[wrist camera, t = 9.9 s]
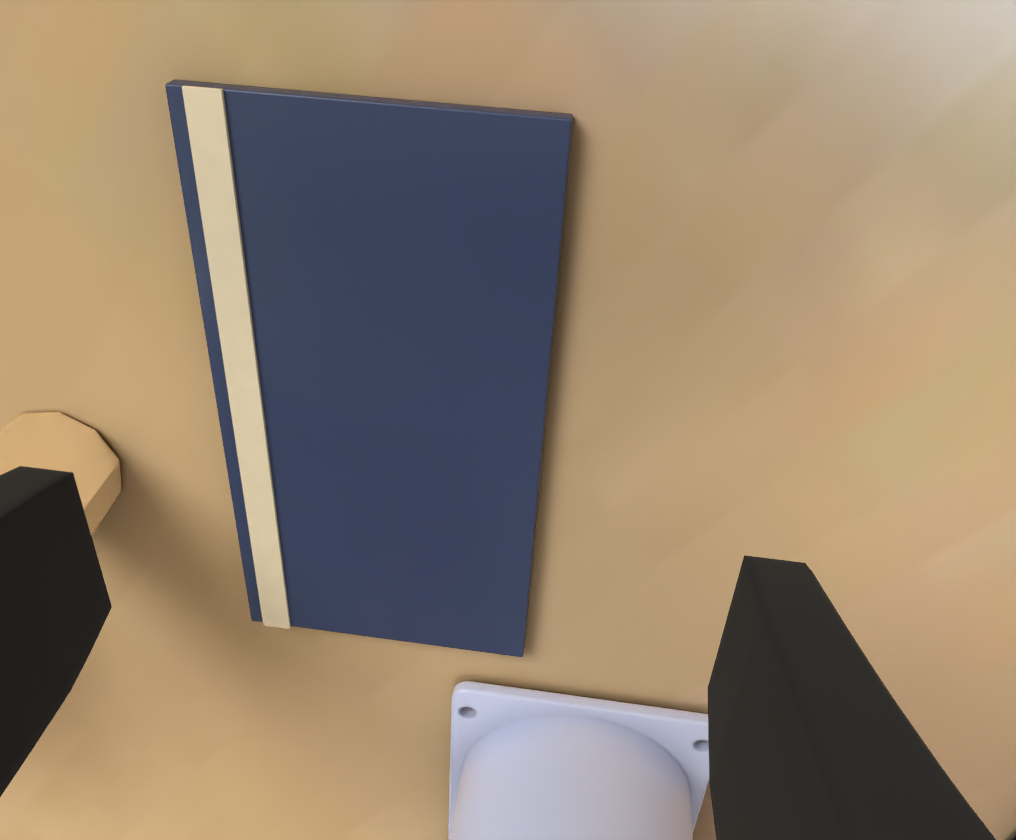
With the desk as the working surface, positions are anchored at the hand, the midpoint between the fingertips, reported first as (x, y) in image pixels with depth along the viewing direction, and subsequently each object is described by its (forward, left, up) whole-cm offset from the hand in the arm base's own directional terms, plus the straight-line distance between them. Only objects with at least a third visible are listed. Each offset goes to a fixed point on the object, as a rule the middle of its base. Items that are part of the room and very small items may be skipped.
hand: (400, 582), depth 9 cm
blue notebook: (-5, +3, -10) cm, 12 cm away
